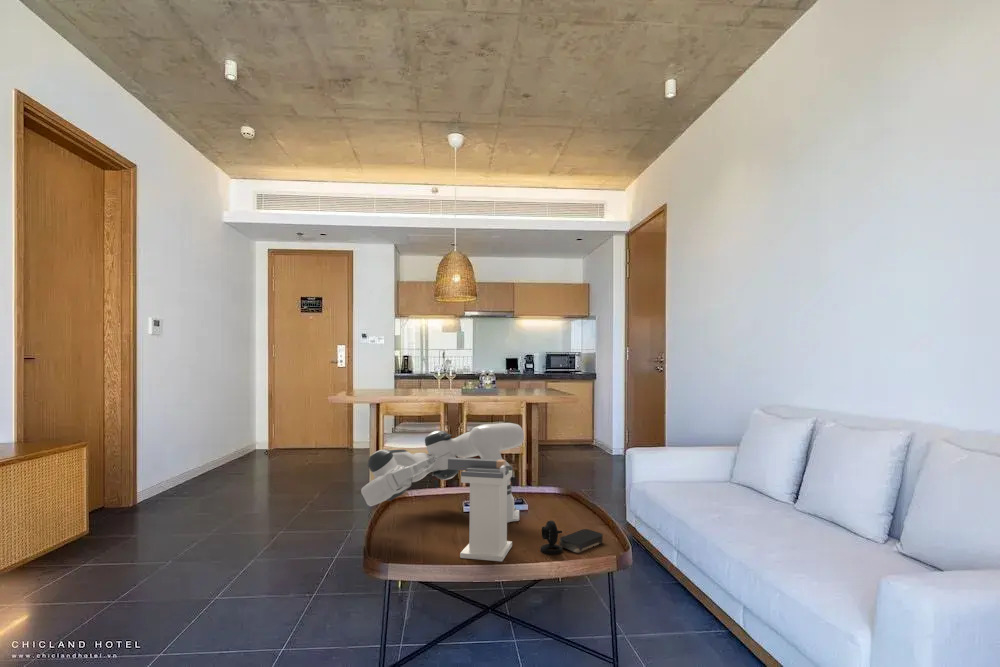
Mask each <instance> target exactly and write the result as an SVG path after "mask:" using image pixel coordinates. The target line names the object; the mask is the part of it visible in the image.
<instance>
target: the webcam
mask: <svg viewBox="0 0 1000 667" xmlns="http://www.w3.org/2000/svg"><path fill="white" fill-rule="evenodd" d="M559 534H563V531H562V530H558V527H557V524H556V522H555V521H554V520H547V521H546V525H545V526H542V527H541V537H542V539H543V540H546V541H547V542H548V543H546V544H543V545H541V546H540V551H541V553H543V554H547V555H558V554H562V552H563V550H564V548H563V547H561V546H560V544H556V543H557V541H558V537H559Z"/></svg>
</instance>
